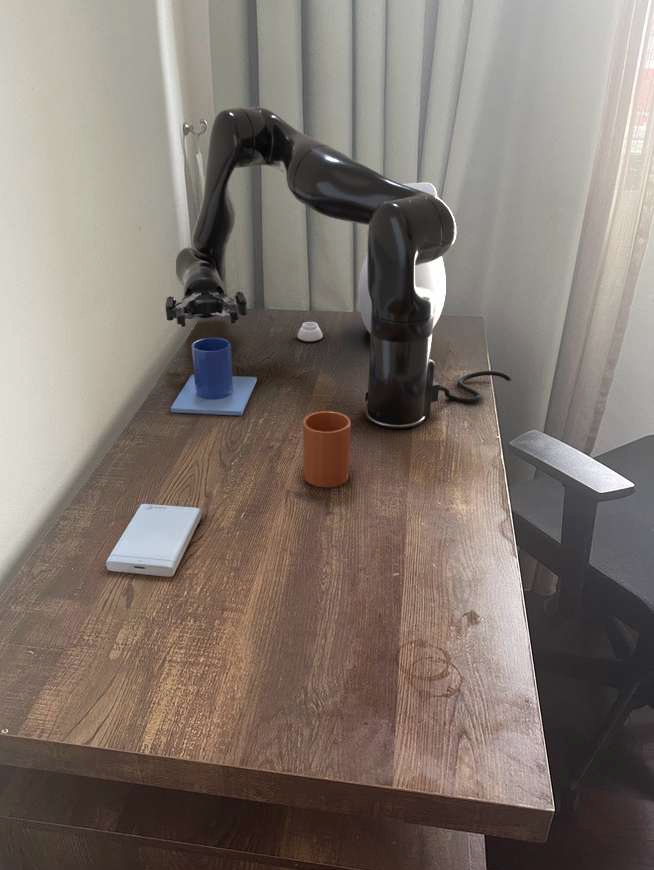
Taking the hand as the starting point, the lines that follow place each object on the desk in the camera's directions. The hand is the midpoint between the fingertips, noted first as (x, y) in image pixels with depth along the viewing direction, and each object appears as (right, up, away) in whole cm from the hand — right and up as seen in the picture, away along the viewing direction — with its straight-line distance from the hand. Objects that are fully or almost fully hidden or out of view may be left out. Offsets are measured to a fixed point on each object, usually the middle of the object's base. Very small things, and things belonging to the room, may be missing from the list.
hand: (208, 319), depth 126 cm
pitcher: (+36, 0, +21) cm, 41 cm away
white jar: (+18, +2, +24) cm, 30 cm away
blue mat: (+1, -13, +1) cm, 13 cm away
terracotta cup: (+19, -27, -22) cm, 40 cm away
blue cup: (+1, -12, +1) cm, 12 cm away
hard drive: (-3, -36, -34) cm, 50 cm away
